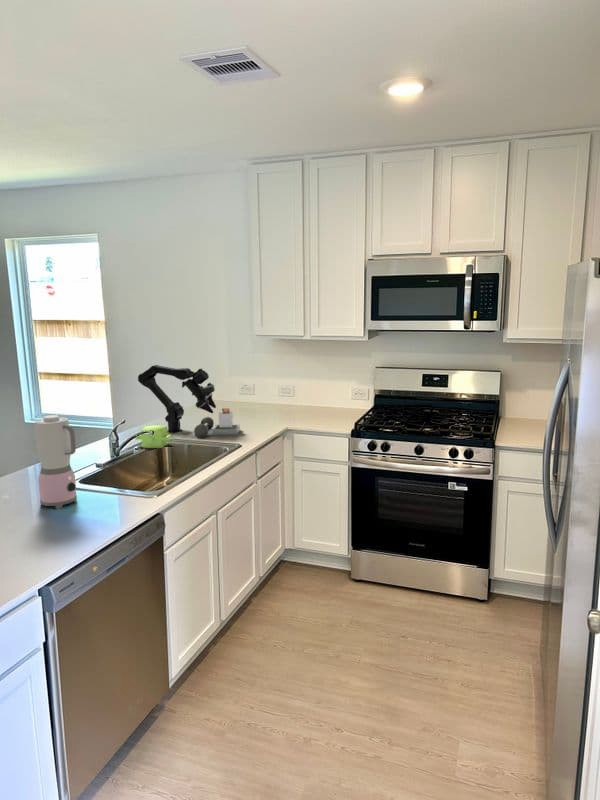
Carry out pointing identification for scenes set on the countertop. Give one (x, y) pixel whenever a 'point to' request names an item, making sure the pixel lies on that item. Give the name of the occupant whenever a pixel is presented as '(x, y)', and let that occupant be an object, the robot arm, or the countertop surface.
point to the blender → (55, 461)
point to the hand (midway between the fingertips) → (214, 410)
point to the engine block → (226, 419)
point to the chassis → (214, 429)
